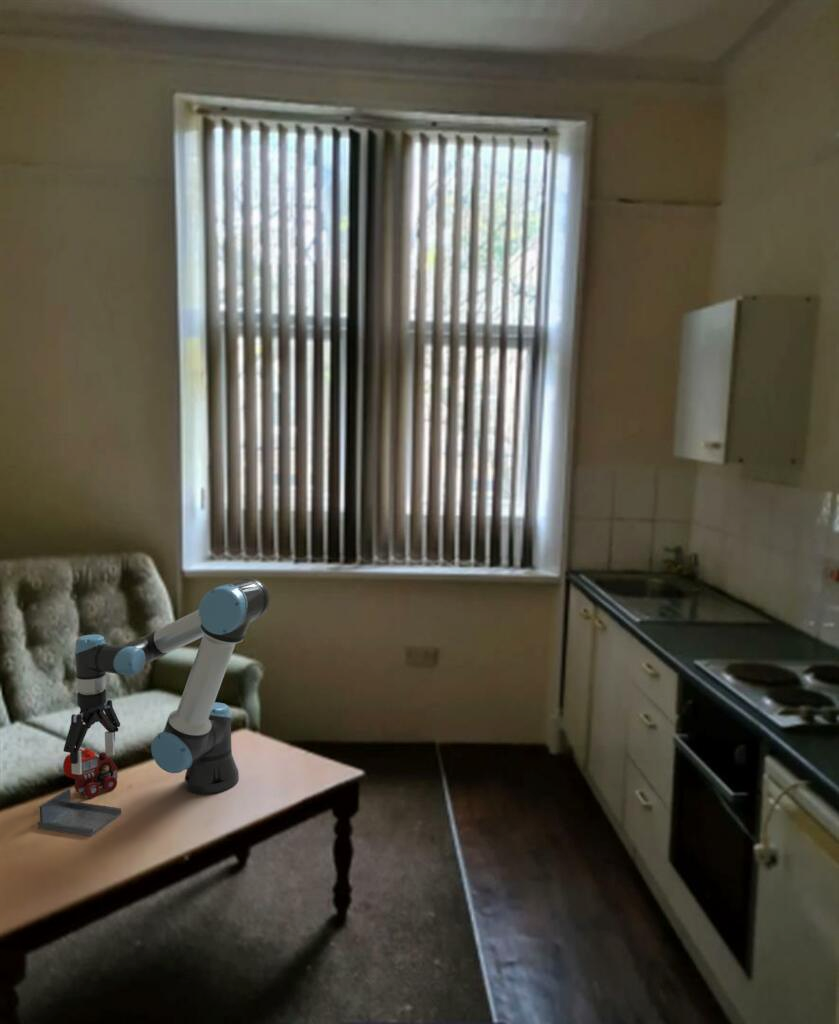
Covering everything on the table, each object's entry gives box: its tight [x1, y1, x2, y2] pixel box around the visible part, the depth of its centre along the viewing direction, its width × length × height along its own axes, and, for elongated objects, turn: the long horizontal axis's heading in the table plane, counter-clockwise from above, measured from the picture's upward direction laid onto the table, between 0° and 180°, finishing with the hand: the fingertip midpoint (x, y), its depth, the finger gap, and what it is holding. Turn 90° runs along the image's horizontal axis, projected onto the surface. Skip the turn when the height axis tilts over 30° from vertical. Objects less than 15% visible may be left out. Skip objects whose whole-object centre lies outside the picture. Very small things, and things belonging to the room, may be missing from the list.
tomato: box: [62, 748, 97, 780], centre depth 222 cm, size 9×9×8 cm
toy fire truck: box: [74, 751, 118, 799], centre depth 212 cm, size 7×12×10 cm, turn 141°
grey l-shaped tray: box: [37, 788, 122, 837], centre depth 195 cm, size 16×12×6 cm
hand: (94, 763), depth 212 cm, fingers open, 13 cm apart
